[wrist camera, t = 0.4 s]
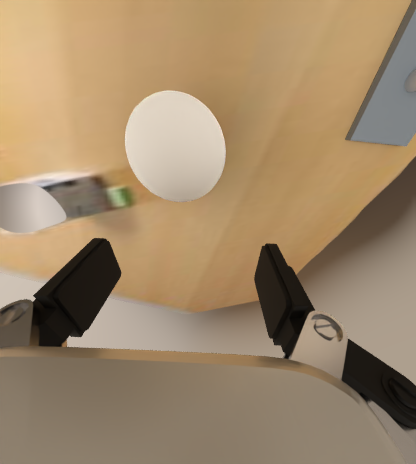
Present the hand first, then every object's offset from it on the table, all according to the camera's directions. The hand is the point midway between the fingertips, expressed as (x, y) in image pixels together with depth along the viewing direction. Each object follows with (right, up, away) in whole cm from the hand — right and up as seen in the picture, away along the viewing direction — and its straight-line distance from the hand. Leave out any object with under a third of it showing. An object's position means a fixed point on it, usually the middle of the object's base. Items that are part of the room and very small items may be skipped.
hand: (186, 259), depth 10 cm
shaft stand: (+35, +27, +17) cm, 47 cm away
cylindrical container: (0, +21, +22) cm, 31 cm away
